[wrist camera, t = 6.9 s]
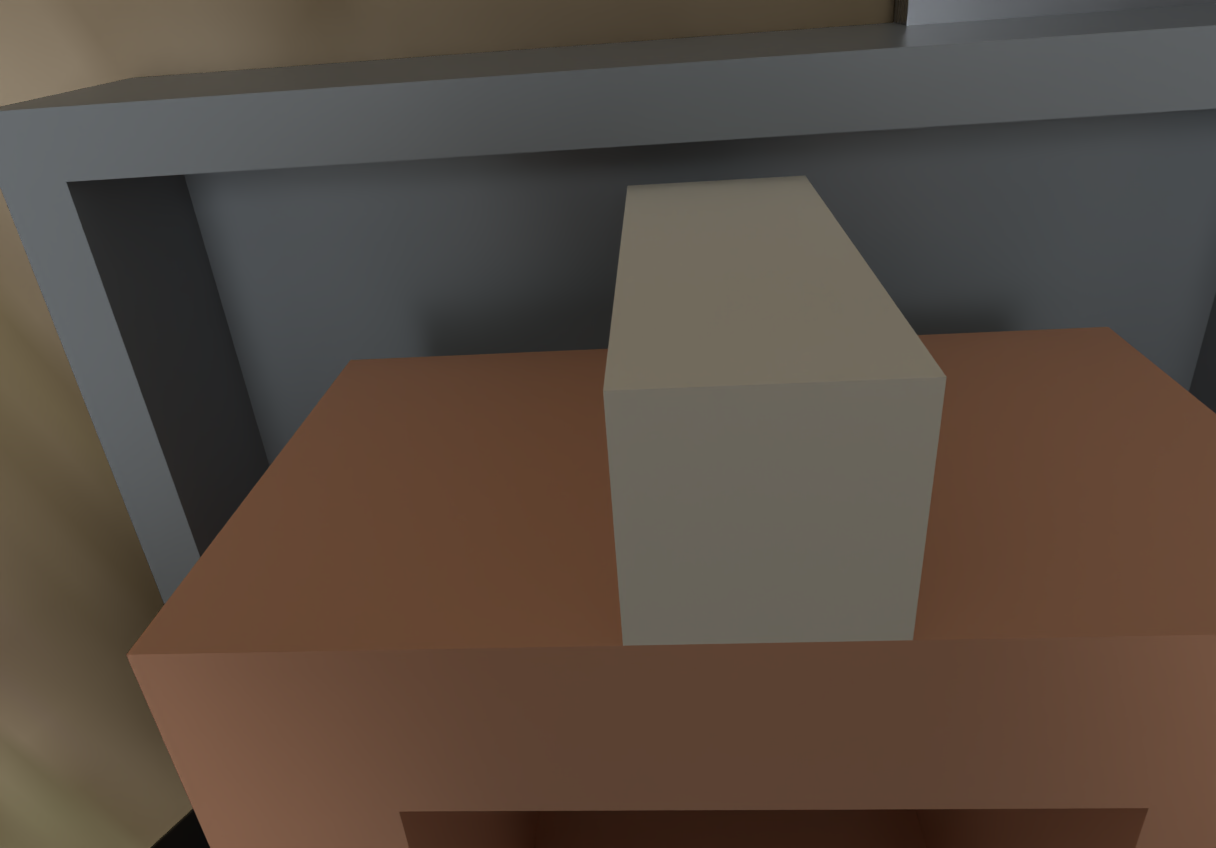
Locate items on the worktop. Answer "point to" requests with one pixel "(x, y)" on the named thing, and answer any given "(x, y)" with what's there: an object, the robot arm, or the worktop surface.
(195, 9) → the worktop surface
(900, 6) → the grey lid with knob
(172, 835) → the robot arm
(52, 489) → the worktop surface
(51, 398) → the worktop surface
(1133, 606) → the brown square frame
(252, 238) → the tray
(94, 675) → the worktop surface
